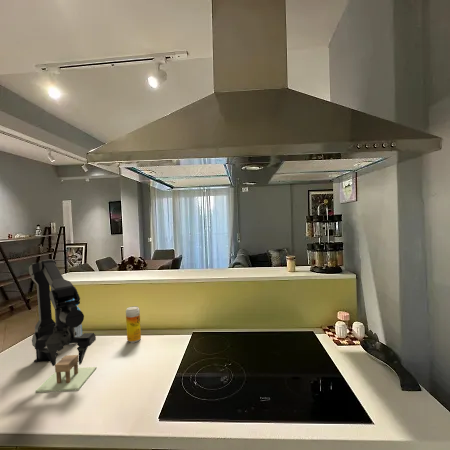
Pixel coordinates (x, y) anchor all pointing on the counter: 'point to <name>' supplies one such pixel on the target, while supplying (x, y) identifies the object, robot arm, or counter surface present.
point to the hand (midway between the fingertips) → (67, 364)
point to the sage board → (74, 384)
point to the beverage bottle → (77, 329)
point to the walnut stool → (66, 367)
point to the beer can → (133, 324)
